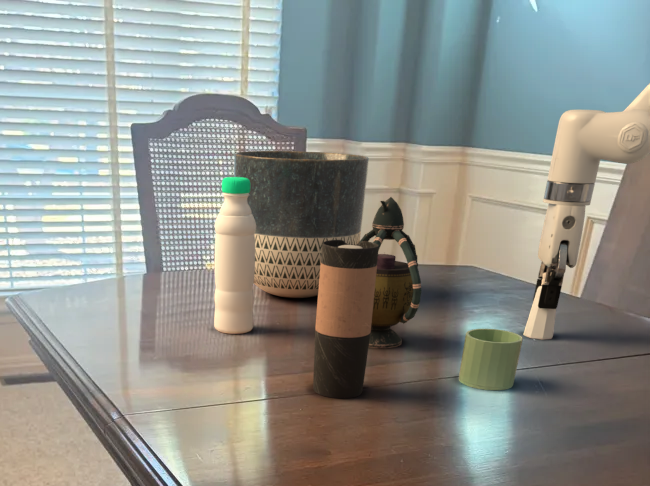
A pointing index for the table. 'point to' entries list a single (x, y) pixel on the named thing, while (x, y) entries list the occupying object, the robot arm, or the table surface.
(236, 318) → the water bottle
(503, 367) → the cup
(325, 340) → the travel mug
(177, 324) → the table surface
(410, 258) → the teapot
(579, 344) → the table surface
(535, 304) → the salt shaker
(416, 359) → the table surface
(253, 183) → the planter
